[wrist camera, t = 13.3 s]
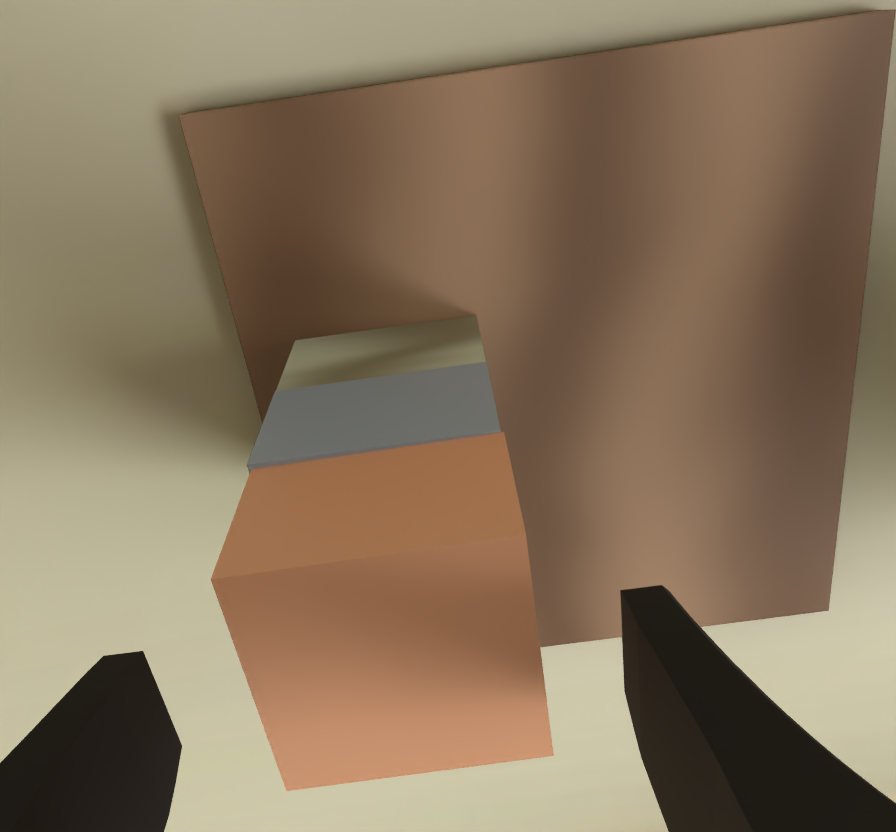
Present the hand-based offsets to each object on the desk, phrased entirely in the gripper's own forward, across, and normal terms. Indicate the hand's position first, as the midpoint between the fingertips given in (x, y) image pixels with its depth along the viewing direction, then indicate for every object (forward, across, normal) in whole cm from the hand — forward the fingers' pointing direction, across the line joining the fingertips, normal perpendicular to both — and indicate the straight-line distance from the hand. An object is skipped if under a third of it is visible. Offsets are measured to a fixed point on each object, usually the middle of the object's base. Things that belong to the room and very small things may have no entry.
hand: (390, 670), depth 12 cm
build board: (+10, -4, 0) cm, 10 cm away
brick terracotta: (+3, 0, 0) cm, 3 cm away
